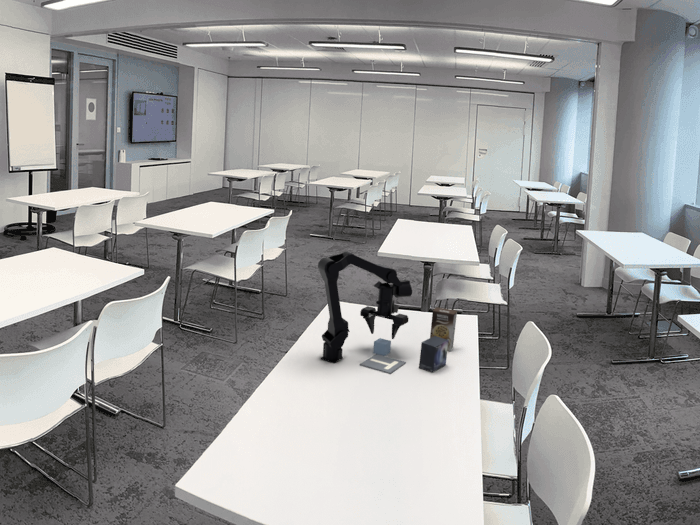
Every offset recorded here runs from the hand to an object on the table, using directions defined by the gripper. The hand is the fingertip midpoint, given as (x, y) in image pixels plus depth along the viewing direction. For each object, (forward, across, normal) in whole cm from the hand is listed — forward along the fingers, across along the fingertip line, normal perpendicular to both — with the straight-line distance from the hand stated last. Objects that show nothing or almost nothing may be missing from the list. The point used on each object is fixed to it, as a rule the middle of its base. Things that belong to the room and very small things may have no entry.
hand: (382, 336), depth 230 cm
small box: (+7, -22, 0) cm, 23 cm away
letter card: (+7, -6, +10) cm, 14 cm away
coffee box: (+7, -17, -21) cm, 28 cm away
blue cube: (+7, 0, 0) cm, 7 cm away
